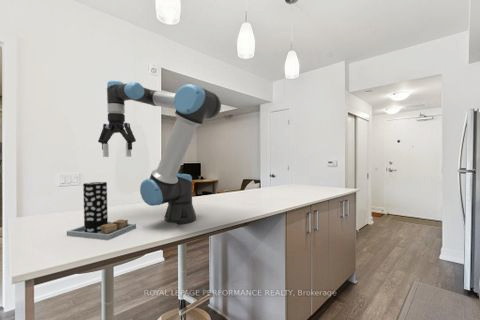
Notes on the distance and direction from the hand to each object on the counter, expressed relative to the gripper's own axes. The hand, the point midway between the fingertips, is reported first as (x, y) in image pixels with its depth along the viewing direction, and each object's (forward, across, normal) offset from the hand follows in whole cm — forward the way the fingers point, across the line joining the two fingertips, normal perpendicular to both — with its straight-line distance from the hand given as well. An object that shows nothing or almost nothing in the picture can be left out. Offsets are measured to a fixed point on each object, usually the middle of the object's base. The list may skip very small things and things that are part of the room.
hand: (117, 156), depth 117 cm
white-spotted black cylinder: (+31, -6, +18) cm, 36 cm away
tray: (+32, -9, +18) cm, 38 cm away
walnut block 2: (+31, -15, +15) cm, 37 cm away
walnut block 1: (+31, -15, +21) cm, 40 cm away
